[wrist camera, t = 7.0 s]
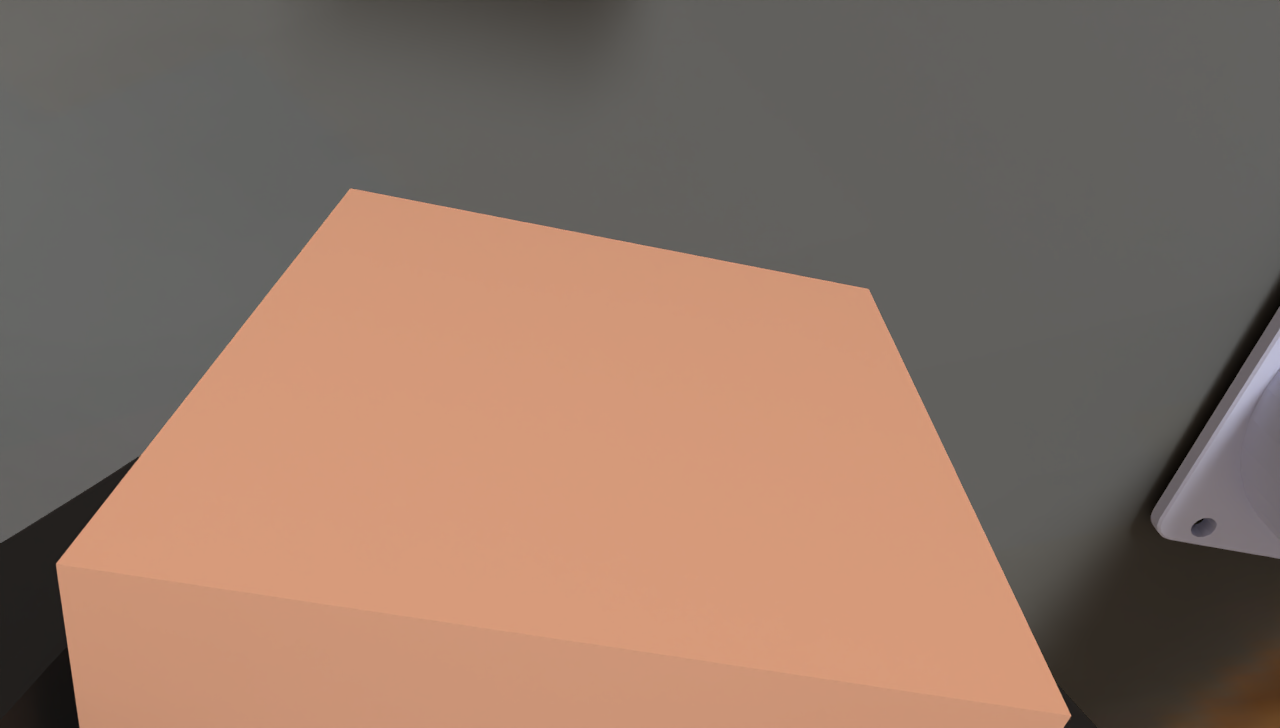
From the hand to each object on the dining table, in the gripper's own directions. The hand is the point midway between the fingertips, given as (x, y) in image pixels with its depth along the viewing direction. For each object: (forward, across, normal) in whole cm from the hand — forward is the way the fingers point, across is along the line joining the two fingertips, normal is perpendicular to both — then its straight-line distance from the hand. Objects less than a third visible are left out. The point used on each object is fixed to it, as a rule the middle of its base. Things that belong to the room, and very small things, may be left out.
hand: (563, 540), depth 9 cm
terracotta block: (+2, 0, 0) cm, 2 cm away
